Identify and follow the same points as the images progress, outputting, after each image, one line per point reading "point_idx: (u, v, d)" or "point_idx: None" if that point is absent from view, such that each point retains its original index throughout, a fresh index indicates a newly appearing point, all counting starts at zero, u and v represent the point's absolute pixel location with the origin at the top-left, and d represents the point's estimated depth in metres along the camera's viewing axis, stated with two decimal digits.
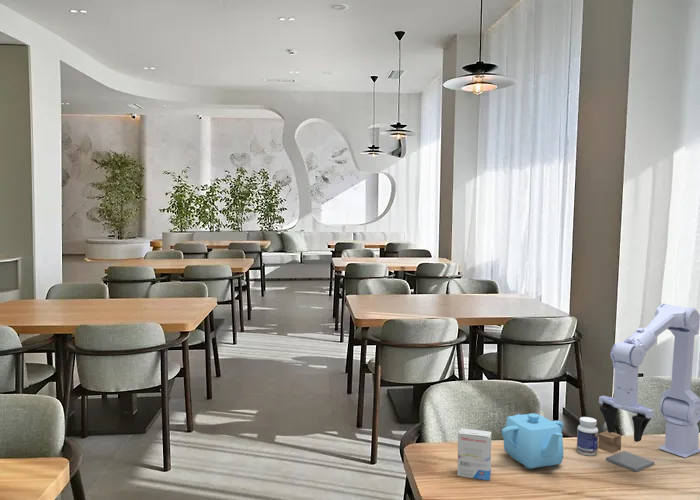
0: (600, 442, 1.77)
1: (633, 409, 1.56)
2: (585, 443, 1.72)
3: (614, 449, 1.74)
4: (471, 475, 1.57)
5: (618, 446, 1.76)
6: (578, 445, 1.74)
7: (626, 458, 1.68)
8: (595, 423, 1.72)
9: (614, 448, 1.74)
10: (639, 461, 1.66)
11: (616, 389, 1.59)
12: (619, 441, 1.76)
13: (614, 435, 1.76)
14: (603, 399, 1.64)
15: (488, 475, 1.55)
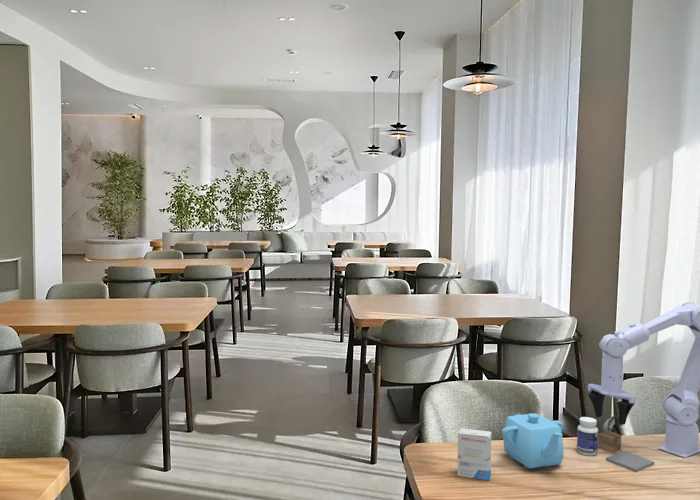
0: (600, 442, 1.77)
1: (618, 395, 1.72)
2: (585, 443, 1.72)
3: (614, 449, 1.74)
4: (471, 475, 1.57)
5: (618, 446, 1.76)
6: (578, 445, 1.74)
7: (626, 458, 1.68)
8: (595, 423, 1.72)
9: (614, 448, 1.74)
10: (639, 461, 1.66)
11: (603, 377, 1.75)
12: (619, 441, 1.76)
13: (614, 435, 1.76)
14: (591, 387, 1.80)
15: (488, 475, 1.55)
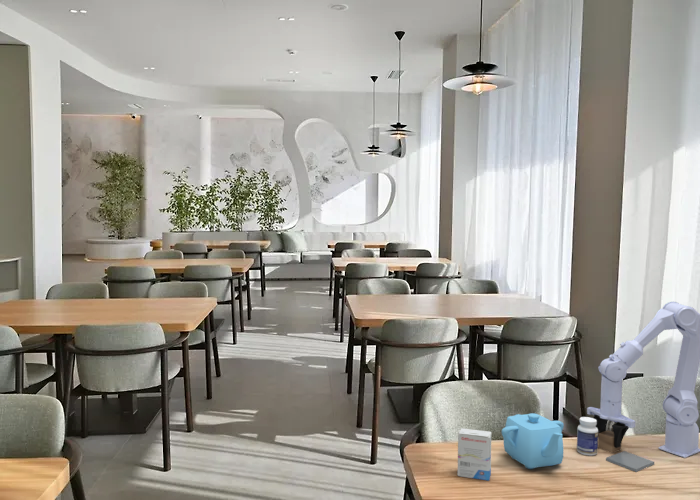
0: (600, 441, 1.77)
1: (617, 420, 1.72)
2: (585, 443, 1.72)
3: (614, 449, 1.74)
4: (471, 475, 1.57)
5: None
6: (578, 445, 1.74)
7: (626, 458, 1.68)
8: (595, 423, 1.72)
9: (614, 448, 1.74)
10: (639, 461, 1.66)
11: (602, 401, 1.75)
12: None
13: None
14: (591, 410, 1.80)
15: (488, 475, 1.55)
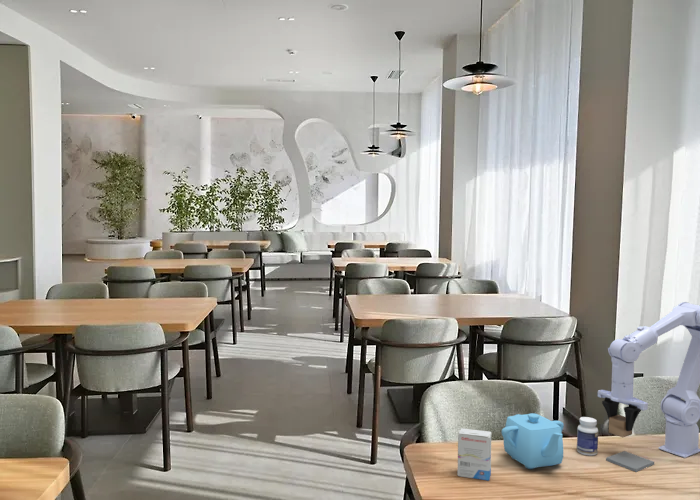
0: (610, 426, 1.71)
1: (629, 402, 1.67)
2: (585, 443, 1.72)
3: (625, 433, 1.69)
4: (471, 475, 1.57)
5: None
6: (578, 445, 1.74)
7: (626, 458, 1.68)
8: (595, 423, 1.72)
9: (625, 433, 1.69)
10: (639, 461, 1.66)
11: (613, 383, 1.70)
12: None
13: (625, 419, 1.70)
14: (601, 393, 1.75)
15: (488, 475, 1.55)
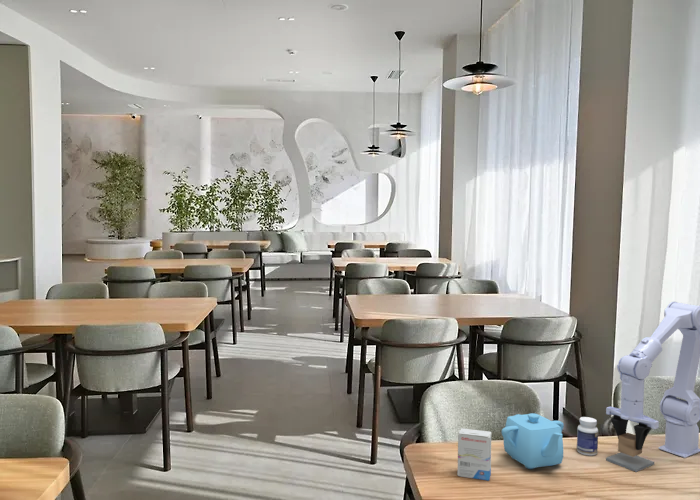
0: (620, 445, 1.67)
1: (639, 420, 1.62)
2: (585, 443, 1.72)
3: (635, 452, 1.64)
4: (471, 475, 1.57)
5: (640, 449, 1.66)
6: (578, 445, 1.74)
7: (626, 458, 1.68)
8: (595, 423, 1.72)
9: (635, 452, 1.64)
10: (639, 461, 1.66)
11: (623, 401, 1.66)
12: None
13: (635, 437, 1.66)
14: (610, 410, 1.70)
15: (488, 475, 1.55)
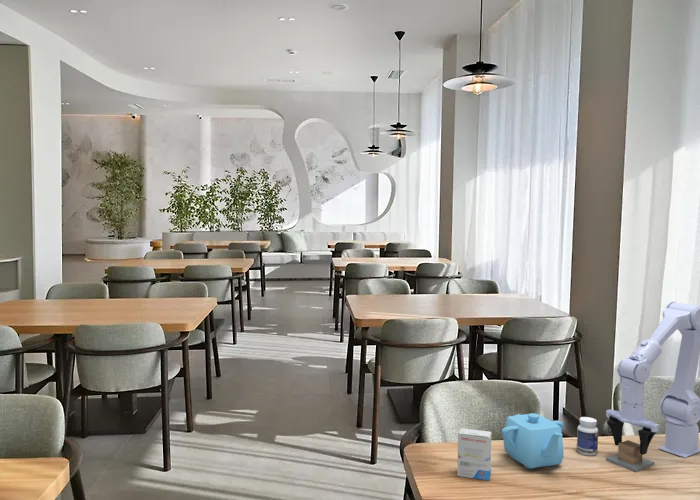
0: (619, 452, 1.67)
1: (639, 423, 1.62)
2: (585, 443, 1.72)
3: (635, 460, 1.65)
4: (471, 475, 1.57)
5: (640, 456, 1.66)
6: (578, 445, 1.74)
7: None
8: (595, 423, 1.72)
9: (635, 459, 1.64)
10: None
11: (623, 404, 1.66)
12: None
13: (635, 445, 1.66)
14: (610, 413, 1.71)
15: (488, 475, 1.55)
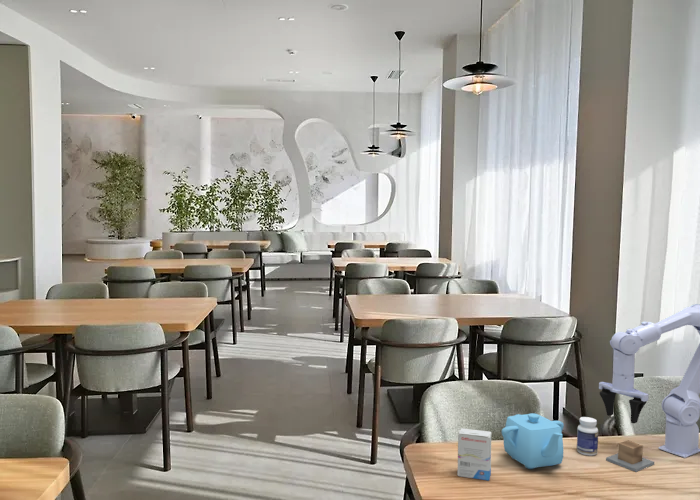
0: (619, 452, 1.67)
1: (630, 393, 1.70)
2: (585, 443, 1.72)
3: (635, 460, 1.65)
4: (471, 475, 1.57)
5: (640, 456, 1.66)
6: (578, 445, 1.74)
7: None
8: (595, 423, 1.72)
9: (635, 459, 1.64)
10: None
11: (614, 375, 1.73)
12: (640, 451, 1.66)
13: (635, 445, 1.66)
14: (602, 385, 1.78)
15: (488, 475, 1.55)
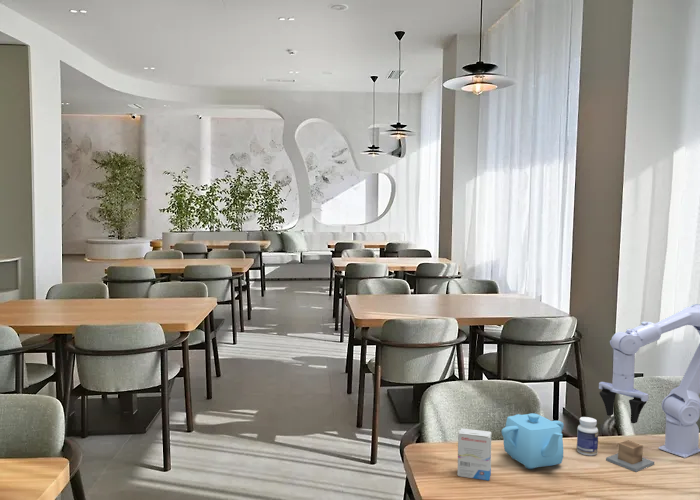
0: (619, 452, 1.67)
1: (630, 393, 1.70)
2: (585, 443, 1.72)
3: (635, 460, 1.65)
4: (471, 475, 1.57)
5: (640, 456, 1.66)
6: (578, 445, 1.74)
7: None
8: (595, 423, 1.72)
9: (635, 459, 1.64)
10: None
11: (614, 375, 1.73)
12: (640, 451, 1.66)
13: (635, 445, 1.66)
14: (602, 385, 1.78)
15: (488, 475, 1.55)
